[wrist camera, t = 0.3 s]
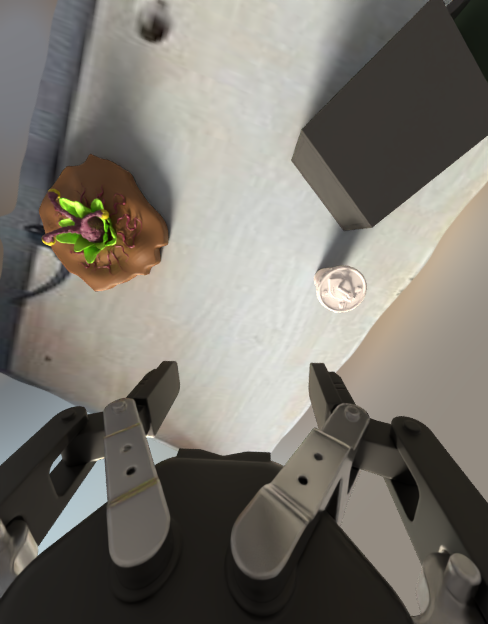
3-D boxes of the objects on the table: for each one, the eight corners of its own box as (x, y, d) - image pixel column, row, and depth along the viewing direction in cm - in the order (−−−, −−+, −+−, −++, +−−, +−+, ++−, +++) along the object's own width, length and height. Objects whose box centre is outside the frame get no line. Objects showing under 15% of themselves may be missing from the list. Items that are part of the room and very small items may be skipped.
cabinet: (383, 70, 32) (438, -9, 22) (435, 155, 34) (507, 119, 24) (291, 160, 36) (301, 129, 26) (343, 230, 38) (372, 227, 28)
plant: (31, 213, 41) (-50, 204, 31) (108, 138, 37) (44, 97, 26) (107, 305, 45) (58, 325, 35) (184, 248, 41) (156, 251, 30)
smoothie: (325, 251, 39) (356, 258, 26) (352, 276, 40) (395, 295, 27) (298, 280, 41) (314, 300, 28) (324, 304, 42) (352, 334, 28)
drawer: (483, -23, 28) (578, -136, 19) (530, 72, 30) (635, 6, 21) (347, 109, 32) (376, 64, 24) (396, 183, 35) (439, 165, 26)
